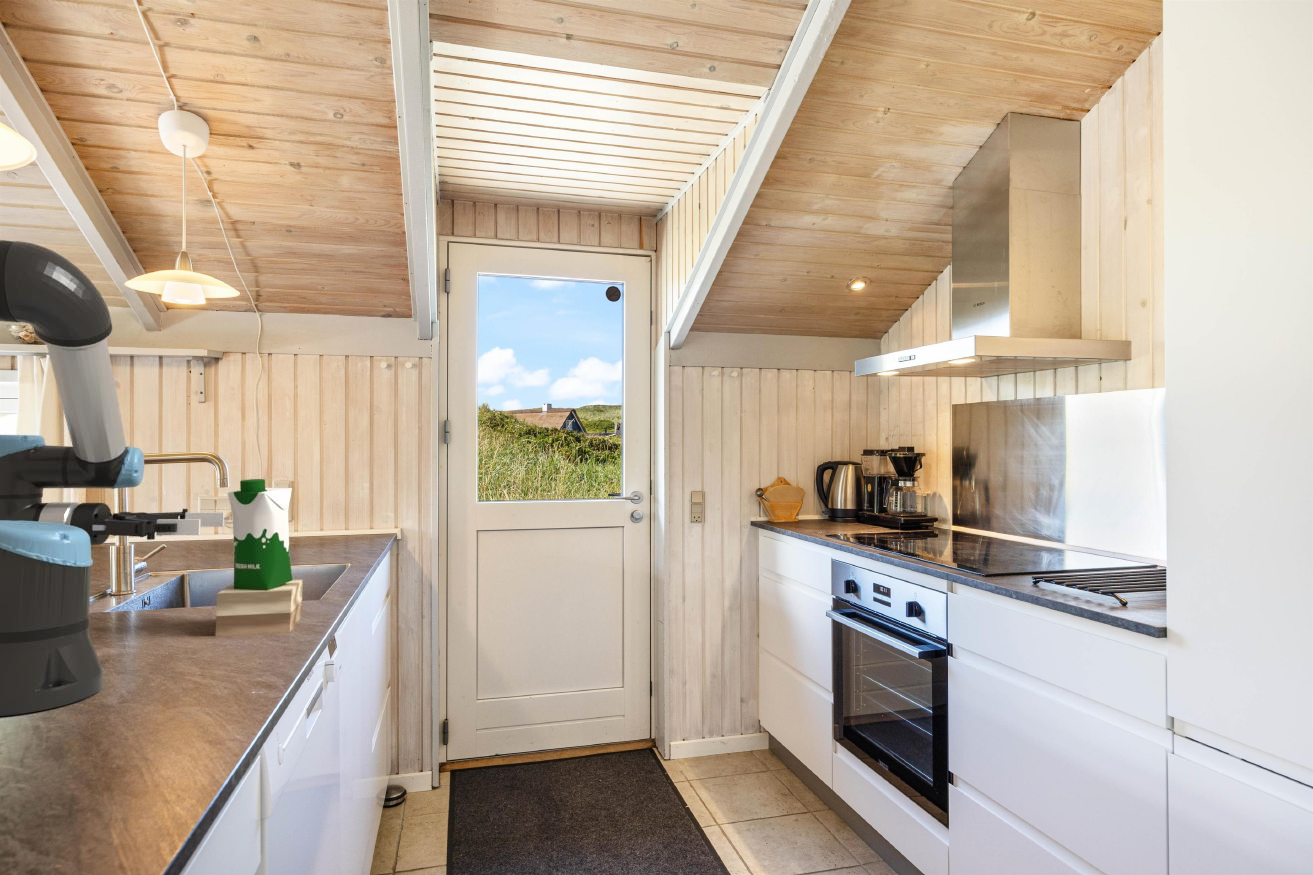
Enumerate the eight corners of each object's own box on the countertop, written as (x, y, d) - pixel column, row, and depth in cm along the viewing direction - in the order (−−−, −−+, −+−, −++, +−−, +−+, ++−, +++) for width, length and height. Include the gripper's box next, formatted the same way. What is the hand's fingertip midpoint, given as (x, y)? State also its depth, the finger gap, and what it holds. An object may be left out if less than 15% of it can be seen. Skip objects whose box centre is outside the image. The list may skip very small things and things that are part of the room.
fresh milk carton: (225, 589, 133) (221, 481, 132) (259, 577, 142) (256, 476, 141) (268, 591, 132) (265, 481, 131) (300, 579, 141) (297, 476, 140)
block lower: (289, 635, 133) (290, 613, 133) (215, 638, 129) (216, 616, 130) (301, 619, 144) (302, 599, 144) (234, 622, 141) (234, 602, 141)
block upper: (290, 612, 133) (291, 590, 133) (216, 616, 130) (217, 593, 130) (302, 599, 144) (302, 579, 145) (234, 602, 141) (234, 581, 141)
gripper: (110, 536, 141) (232, 535, 147) (38, 555, 117) (187, 552, 123) (111, 497, 142) (233, 497, 147) (39, 508, 117) (188, 508, 123)
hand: (212, 522), depth 135 cm, fingers open, 13 cm apart
